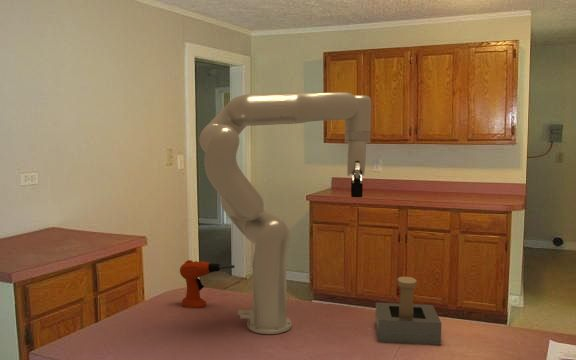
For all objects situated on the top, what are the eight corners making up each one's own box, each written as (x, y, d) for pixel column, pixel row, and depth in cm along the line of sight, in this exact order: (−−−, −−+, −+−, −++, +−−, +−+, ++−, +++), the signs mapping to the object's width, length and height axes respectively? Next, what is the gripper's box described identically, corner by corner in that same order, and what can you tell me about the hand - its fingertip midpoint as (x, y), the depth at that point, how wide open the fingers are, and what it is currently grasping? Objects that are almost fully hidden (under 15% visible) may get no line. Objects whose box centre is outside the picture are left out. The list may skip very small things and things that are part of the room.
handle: (397, 337, 137) (399, 282, 135) (395, 328, 143) (396, 276, 142) (416, 338, 136) (417, 283, 135) (412, 329, 142) (414, 277, 141)
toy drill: (236, 307, 156) (230, 258, 155) (180, 309, 160) (174, 262, 159) (241, 301, 160) (235, 255, 159) (186, 304, 165) (180, 259, 164)
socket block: (378, 342, 133) (378, 319, 133) (375, 322, 147) (375, 302, 147) (440, 345, 132) (441, 322, 131) (432, 325, 145) (432, 305, 145)
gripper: (345, 137, 159) (344, 191, 161) (344, 137, 142) (343, 198, 144) (369, 137, 158) (368, 192, 160) (371, 138, 141) (370, 199, 143)
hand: (356, 195), depth 152 cm, fingers open, 9 cm apart
